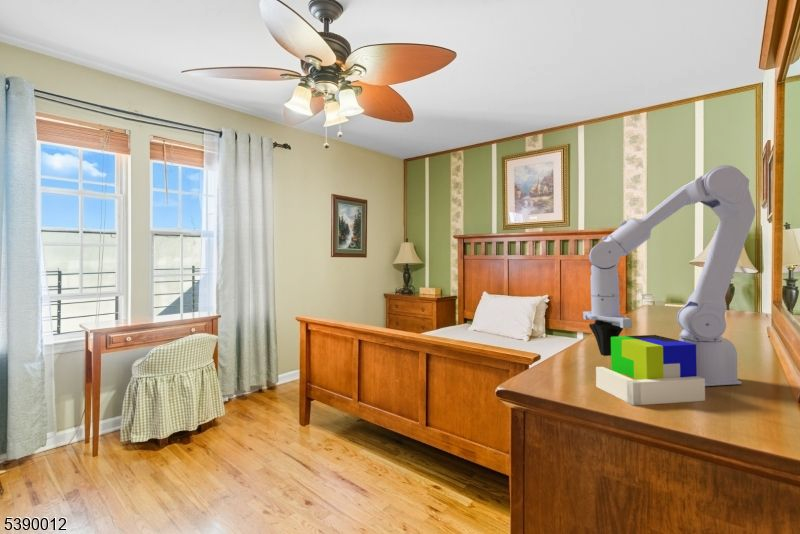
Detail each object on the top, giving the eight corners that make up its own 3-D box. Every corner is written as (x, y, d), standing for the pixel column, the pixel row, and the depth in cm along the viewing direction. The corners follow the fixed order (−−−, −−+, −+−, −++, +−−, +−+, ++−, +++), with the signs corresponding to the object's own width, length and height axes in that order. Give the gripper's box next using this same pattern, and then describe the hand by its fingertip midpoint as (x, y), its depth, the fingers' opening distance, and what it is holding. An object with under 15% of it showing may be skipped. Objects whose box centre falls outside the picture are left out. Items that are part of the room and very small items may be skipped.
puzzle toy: (696, 398, 73) (696, 344, 73) (647, 401, 72) (646, 346, 72) (655, 382, 83) (655, 334, 83) (611, 384, 82) (610, 336, 81)
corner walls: (659, 382, 82) (659, 363, 82) (705, 400, 71) (704, 378, 71) (596, 386, 80) (595, 367, 80) (633, 405, 70) (632, 382, 70)
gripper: (570, 294, 96) (572, 349, 96) (609, 298, 82) (610, 363, 82) (597, 292, 97) (599, 347, 97) (640, 297, 83) (642, 361, 83)
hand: (606, 355), depth 90 cm, fingers closed
